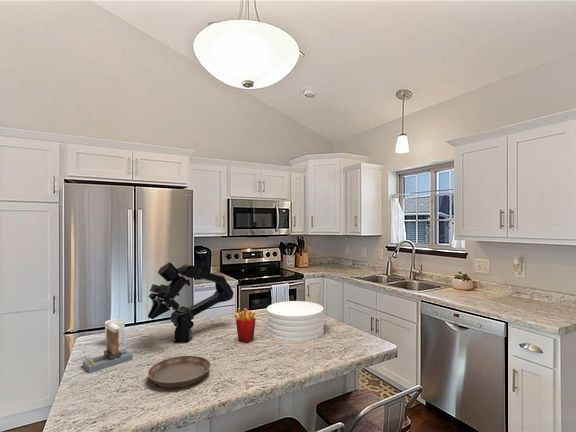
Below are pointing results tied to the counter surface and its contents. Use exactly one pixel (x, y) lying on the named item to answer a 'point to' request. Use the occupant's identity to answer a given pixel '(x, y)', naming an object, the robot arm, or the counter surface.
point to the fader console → (106, 361)
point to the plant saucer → (179, 371)
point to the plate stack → (295, 320)
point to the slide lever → (112, 341)
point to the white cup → (121, 328)
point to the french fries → (245, 326)
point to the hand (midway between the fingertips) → (149, 318)
